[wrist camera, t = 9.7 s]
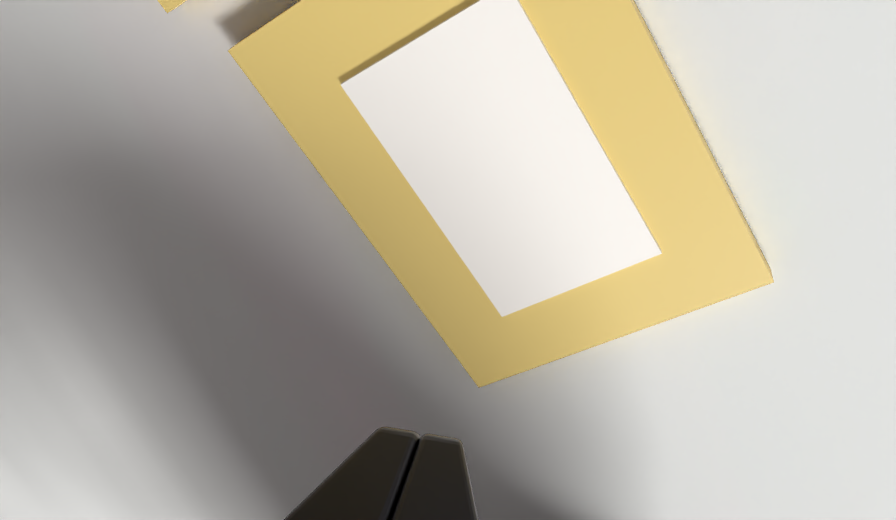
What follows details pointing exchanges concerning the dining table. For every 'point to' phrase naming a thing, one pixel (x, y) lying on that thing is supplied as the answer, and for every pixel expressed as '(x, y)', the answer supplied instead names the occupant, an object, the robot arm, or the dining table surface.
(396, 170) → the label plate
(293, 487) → the dining table surface
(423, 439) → the robot arm
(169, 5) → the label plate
